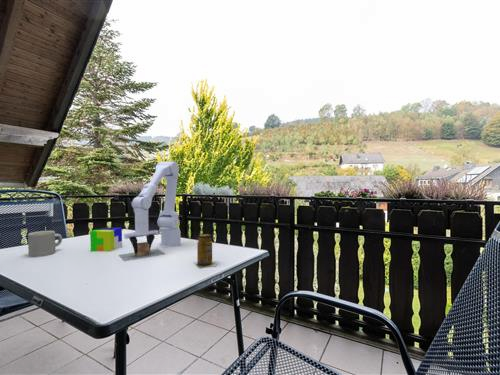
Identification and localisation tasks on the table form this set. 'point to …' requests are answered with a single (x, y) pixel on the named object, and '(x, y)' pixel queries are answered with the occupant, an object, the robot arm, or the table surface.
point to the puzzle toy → (106, 239)
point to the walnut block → (142, 249)
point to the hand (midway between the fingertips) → (142, 252)
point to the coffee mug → (42, 243)
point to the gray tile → (132, 256)
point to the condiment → (204, 251)
